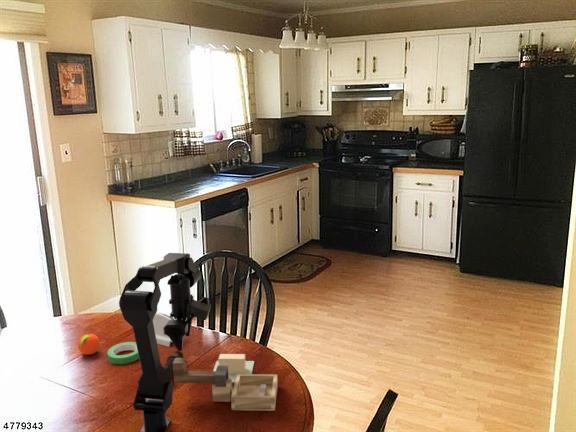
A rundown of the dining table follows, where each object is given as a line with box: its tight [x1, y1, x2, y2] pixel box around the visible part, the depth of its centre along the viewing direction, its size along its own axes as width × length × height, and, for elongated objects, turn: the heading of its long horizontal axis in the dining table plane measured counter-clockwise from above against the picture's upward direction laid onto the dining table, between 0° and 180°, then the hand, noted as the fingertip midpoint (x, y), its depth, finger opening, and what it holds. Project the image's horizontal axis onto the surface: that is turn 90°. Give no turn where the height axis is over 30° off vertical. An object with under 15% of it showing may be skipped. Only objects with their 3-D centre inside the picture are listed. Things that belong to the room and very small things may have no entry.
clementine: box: [77, 333, 101, 356], centre depth 172 cm, size 8×7×7 cm
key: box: [172, 357, 216, 384], centre depth 144 cm, size 3×12×6 cm, turn 87°
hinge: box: [153, 312, 177, 347], centre depth 183 cm, size 17×5×10 cm, turn 61°
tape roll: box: [107, 341, 140, 365], centre depth 171 cm, size 11×11×3 cm
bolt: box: [163, 350, 184, 377], centre depth 160 cm, size 6×5×15 cm
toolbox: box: [211, 366, 279, 411], centre depth 145 cm, size 12×18×9 cm, turn 87°
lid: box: [212, 353, 255, 384], centre depth 159 cm, size 12×12×6 cm
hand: (184, 343), depth 151 cm, fingers open, 9 cm apart
